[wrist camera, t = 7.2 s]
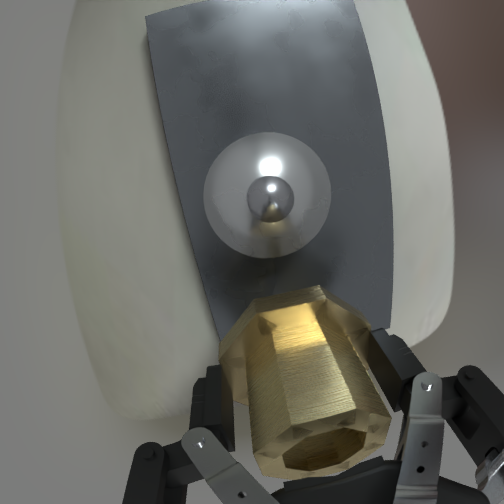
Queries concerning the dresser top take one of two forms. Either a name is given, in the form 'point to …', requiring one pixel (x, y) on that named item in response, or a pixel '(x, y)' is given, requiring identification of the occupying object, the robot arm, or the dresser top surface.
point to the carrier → (277, 151)
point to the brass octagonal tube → (305, 383)
